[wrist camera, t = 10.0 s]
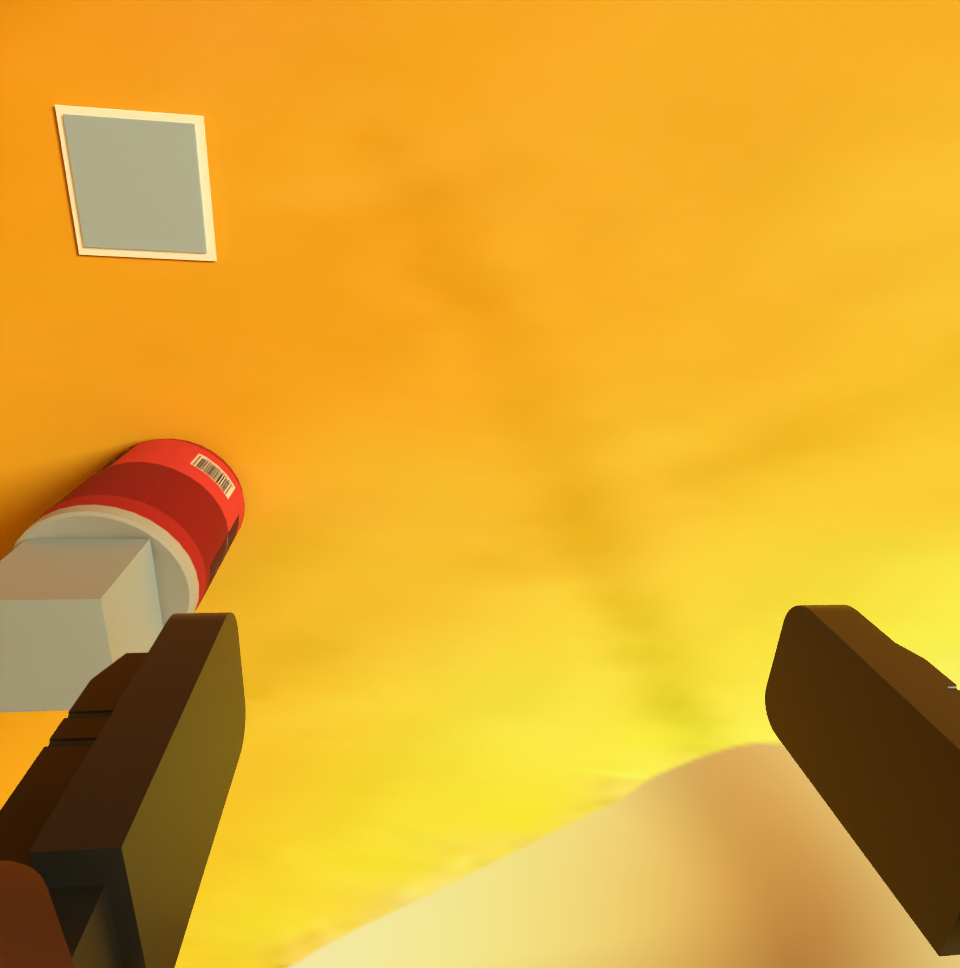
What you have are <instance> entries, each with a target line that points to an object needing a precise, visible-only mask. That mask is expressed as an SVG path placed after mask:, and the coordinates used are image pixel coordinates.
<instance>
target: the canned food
mask: <svg viewBox="0 0 960 968" xmlns="http://www.w3.org/2000/svg"><path fill="white" fill-rule="evenodd" d="M244 506H245V504H244V498H243V493H242V488H241V486H240V483H239V481H238V478H237V477H236V475H235V474H234V472H233V471H232V469H231V468H230V467H229V466H228V465H227V464H226V462H225V461H224V460H223V459H222V458H220V457H219V456H217V455H216V454H215V453H213V452H212V451H210V450H208V449H206V448H204V447H202V446H201V445H198V444H195V443H192V442H189V441H184V440H177V439H157V440H150V441H146V442H141V443H139V444H136V445H134V446H132V447H129V448H128V449H126V450H125V451H124V452H122V453H121V454H119V455H118V456H117V457H116V458H114V459H113V460H112V461H110V462H109V463H108V464H107V465H105V466H104V467H103V468H102V469H100V470H99V471H98V472H96V473H95V474H94V475H93V476H91V477H90V478H89V479H87V480H86V481H85V482H84V483H82V484H81V485H80V486H79V487H77V488H76V489H75V490H73V491H72V492H71V493H70V494H68V495H67V496H66V497H64V498H63V499H62V500H61V501H59V502H58V503H57V504H56V505H54V506H53V507H52V508H50V509H49V510H48V511H47V512H45V513H44V514H43V515H42V516H41V517H40V518H39V519H37V520H36V521H35V522H34V523H32V524H31V525H30V526H29V527H28V528H27V530H26V531H25V532H24V533H23V534H22V535H21V537H20V538H19V539H18V540H17V541H16V543H15V544H14V546H13V548H12V551H13V550H14V549H15V548H16V547H18V546H19V545H20V544H21V543H23V542H24V541H25V540H26V539H150V541H151V548H152V555H153V562H154V568H155V575H156V582H157V589H158V596H159V602H160V609H161V616H162V623H163V627H164V625H165V624H166V622H167V620H168V619H169V617H170V616H171V615H172V614H176V613H194V612H195V611H196V609H197V607H198V606H199V604H200V602H201V600H202V599H203V597H204V595H205V593H206V591H207V589H208V587H209V585H210V584H211V582H212V580H213V578H214V576H215V574H216V572H217V570H218V568H219V567H220V565H221V563H222V561H223V559H224V557H225V555H226V553H227V551H228V550H229V548H230V546H231V544H232V542H233V540H234V538H235V536H236V534H237V533H238V531H239V529H240V527H241V524H242V521H243V517H244ZM12 551H11V552H12Z"/></svg>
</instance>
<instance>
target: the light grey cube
mask: <svg viewBox="0 0 960 968" xmlns="http://www.w3.org/2000/svg"><path fill="white" fill-rule="evenodd" d="M162 629H163V623H162V616H161V609H160V602H159V596H158V589H157V582H156V575H155V568H154V562H153V555H152V548H151V541H150V539H26V540H25V541H24V542H23V543H21V544H20V545H19V546H18V547H16V548H15V549H14V550H13V551H12V552H10V553H9V554H8V555H7V556H5V557H4V558H3V559H2V560H1V561H0V712H30V711H62V710H70V709H71V708H72V706H73V705H74V703H75V702H76V700H77V699H78V697H79V696H80V695H81V693H82V692H83V690H84V689H85V687H86V686H87V684H88V683H89V682H90V680H91V679H92V678H94V677H95V676H96V675H98V674H99V673H100V672H102V671H103V670H104V669H106V668H107V667H108V666H110V665H111V664H112V663H114V662H115V661H116V660H118V659H119V658H120V657H122V656H123V655H124V654H126V653H148V652H149V650H150V649H151V647H152V645H153V644H154V642H155V640H156V639H157V637H158V635H159V634H160V632H161V630H162Z"/></svg>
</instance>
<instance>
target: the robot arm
mask: <svg viewBox="0 0 960 968" xmlns="http://www.w3.org/2000/svg"><path fill="white" fill-rule="evenodd" d="M765 705H766V711H767V716H768V719H769V722H770V725H771V727H772V729H773V731H774V732H775V734H776V735H777V737H778V738H779V740H780V741H781V742H782V744H783V745H784V746H785V748H786V749H787V750H788V752H789V753H790V754H791V756H792V757H793V758H794V760H795V761H796V763H797V764H798V765H799V767H800V768H801V769H802V771H803V772H804V773H805V775H806V776H807V778H808V779H809V780H810V782H811V783H812V784H813V786H814V787H815V788H816V790H817V791H818V792H819V794H820V795H821V796H822V798H823V799H824V801H825V802H826V803H827V805H828V806H829V807H830V809H831V810H832V811H833V813H834V814H835V815H836V817H837V818H838V820H839V821H840V822H841V824H842V825H843V826H844V828H845V829H846V830H847V832H848V833H849V834H850V836H851V837H852V838H853V840H854V841H855V843H856V844H857V845H858V847H859V848H860V849H861V851H862V852H863V853H864V855H865V856H866V858H867V859H868V860H869V862H870V863H871V864H872V866H873V867H874V868H875V870H876V871H877V872H878V874H879V875H880V876H881V878H882V879H883V881H884V882H885V883H886V885H887V886H888V887H889V889H890V890H891V891H892V893H893V894H894V895H895V897H896V898H897V900H898V901H899V902H900V903H901V905H902V906H903V907H904V909H905V910H906V912H907V913H908V914H909V916H910V917H911V919H912V920H913V921H914V923H915V924H916V925H917V927H918V928H919V929H920V931H921V932H922V933H923V935H924V936H925V937H926V939H927V940H928V941H929V943H930V944H931V946H932V947H933V948H934V950H935V951H936V952H937V954H938V955H939V956H949V955H960V690H957V688H956V684H955V683H953V682H952V681H951V680H950V679H948V678H947V677H946V676H945V675H944V674H942V673H941V672H940V671H939V670H938V669H936V668H935V667H934V666H933V665H932V664H930V663H929V662H928V661H927V660H925V659H924V658H922V657H920V656H918V655H916V654H915V653H913V652H911V651H909V650H907V649H906V648H904V647H902V646H900V645H898V644H896V643H895V642H894V641H892V640H891V639H890V638H889V637H888V636H886V635H885V634H884V633H883V632H882V631H880V630H879V629H878V628H877V627H876V626H875V625H873V624H872V623H871V622H870V621H869V620H867V619H866V618H865V617H864V616H863V615H861V614H860V613H859V612H858V611H857V610H855V609H854V608H852V607H850V606H848V605H801V606H795V607H793V608H791V609H790V610H789V612H788V613H787V615H786V617H785V619H784V623H783V626H782V630H781V634H780V638H779V642H778V645H777V649H776V653H775V657H774V660H773V664H772V668H771V672H770V676H769V679H768V683H767V687H766V692H765ZM244 729H245V698H244V687H243V677H242V667H241V657H240V647H239V636H238V627H237V622H236V618H235V616H234V614H233V613H176V614H172V615H171V616H170V617H169V619H168V620H167V622H166V624H165V625H164V627H163V629H162V630H161V632H160V634H159V635H158V637H157V639H156V640H155V642H154V644H153V645H152V647H151V649H150V650H149V652H148V653H126V654H124V655H123V656H122V657H120V658H119V659H118V660H116V661H115V662H114V663H112V664H111V665H110V666H108V667H107V668H106V669H104V670H103V671H102V672H100V673H99V674H98V675H96V676H95V677H94V678H92V679H91V680H90V682H89V683H88V684H87V686H86V687H85V689H84V690H83V692H82V693H81V695H80V696H79V697H78V699H77V700H76V702H75V703H74V705H73V706H72V708H71V709H70V711H69V716H68V718H64V719H63V721H62V722H61V724H60V725H59V726H58V728H57V729H56V731H55V732H54V734H53V735H52V737H51V738H50V743H49V746H48V747H44V748H43V750H42V751H41V752H40V754H39V755H38V757H37V758H36V760H35V761H34V763H33V764H32V766H31V767H30V768H29V770H28V771H27V773H26V774H25V776H24V777H23V779H22V780H21V781H20V783H19V784H18V786H17V787H16V789H15V790H14V792H13V793H12V794H11V796H10V797H9V799H8V800H7V802H6V803H5V805H4V806H3V808H2V809H1V810H0V968H174V967H175V964H176V960H177V957H178V954H179V951H180V948H181V944H182V941H183V938H184V935H185V931H186V928H187V925H188V922H189V918H190V915H191V912H192V909H193V905H194V902H195V899H196V896H197V892H198V889H199V886H200V883H201V879H202V876H203V873H204V870H205V867H206V863H207V860H208V857H209V854H210V850H211V847H212V844H213V841H214V837H215V834H216V831H217V828H218V824H219V821H220V818H221V815H222V811H223V808H224V805H225V802H226V798H227V795H228V792H229V789H230V786H231V782H232V779H233V776H234V773H235V769H236V766H237V763H238V760H239V756H240V753H241V749H242V744H243V738H244Z"/></svg>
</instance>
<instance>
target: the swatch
mask: <svg viewBox="0 0 960 968" xmlns="http://www.w3.org/2000/svg"><path fill="white" fill-rule="evenodd" d="M55 110H56V116H57V122H58V128H59V134H60V140H61V146H62V153H63V159H64V165H65V171H66V177H67V183H68V189H69V195H70V202H71V208H72V214H73V220H74V226H75V232H76V238H77V244H78V250H79V255H98V256H118V257H139V258H159V259H179V260H200V261H217V258H216V247H215V236H214V224H213V213H212V202H211V191H210V180H209V169H208V158H207V147H206V136H205V125H204V116H198V115H185V114H172V113H159V112H145V111H132V110H119V109H106V108H92V107H79V106H66V105H55Z"/></svg>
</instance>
